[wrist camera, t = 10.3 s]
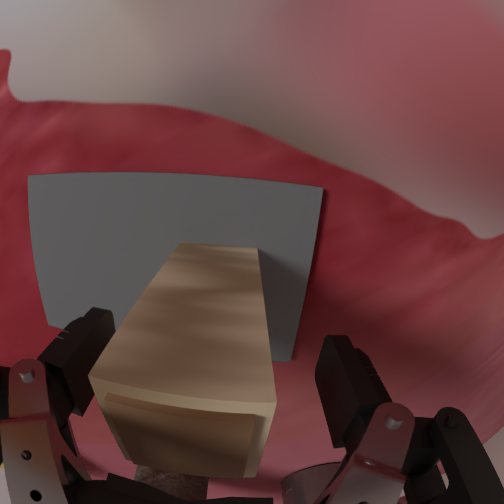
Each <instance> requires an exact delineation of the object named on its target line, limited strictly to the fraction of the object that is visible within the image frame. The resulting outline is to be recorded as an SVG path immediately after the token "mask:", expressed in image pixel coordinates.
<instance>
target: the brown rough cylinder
mask: <svg viewBox="0 0 504 504" xmlns="http://www.w3.org/2000/svg"><path fill="white" fill-rule="evenodd" d="M208 479H209V477H204V476H195V475H188V474H181V473H175V472H170V471H164V470H159V469H154V468H150V467H146V466H141V465H138V466H137V470H136V473H135V476H134V480H135V481H138V482H142V483H146V484H148V485H150V486H152V487H155V488H157V489H159V490H161V491H163V492H166V493H168V494H171V495H173V496H175V497H178V498H180V499H183V500H188V501H192V500H206V498H207V488H208Z"/></svg>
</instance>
